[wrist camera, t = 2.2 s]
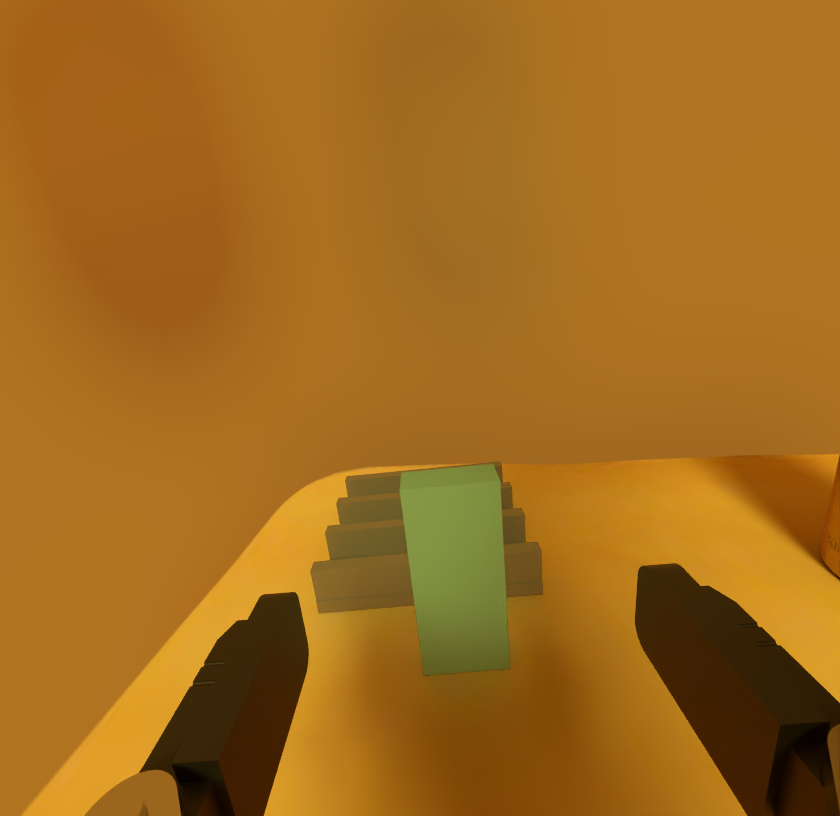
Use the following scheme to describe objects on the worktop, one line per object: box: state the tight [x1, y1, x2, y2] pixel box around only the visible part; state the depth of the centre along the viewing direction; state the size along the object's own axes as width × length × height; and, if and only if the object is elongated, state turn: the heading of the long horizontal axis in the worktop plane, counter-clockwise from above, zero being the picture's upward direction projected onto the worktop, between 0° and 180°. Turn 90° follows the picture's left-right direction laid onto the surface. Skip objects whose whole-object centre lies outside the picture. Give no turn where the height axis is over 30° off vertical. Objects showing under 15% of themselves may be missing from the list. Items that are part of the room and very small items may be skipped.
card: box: [400, 464, 510, 675], centre depth 23 cm, size 5×2×12 cm, turn 90°
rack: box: [310, 462, 543, 613], centre depth 35 cm, size 16×15×4 cm
